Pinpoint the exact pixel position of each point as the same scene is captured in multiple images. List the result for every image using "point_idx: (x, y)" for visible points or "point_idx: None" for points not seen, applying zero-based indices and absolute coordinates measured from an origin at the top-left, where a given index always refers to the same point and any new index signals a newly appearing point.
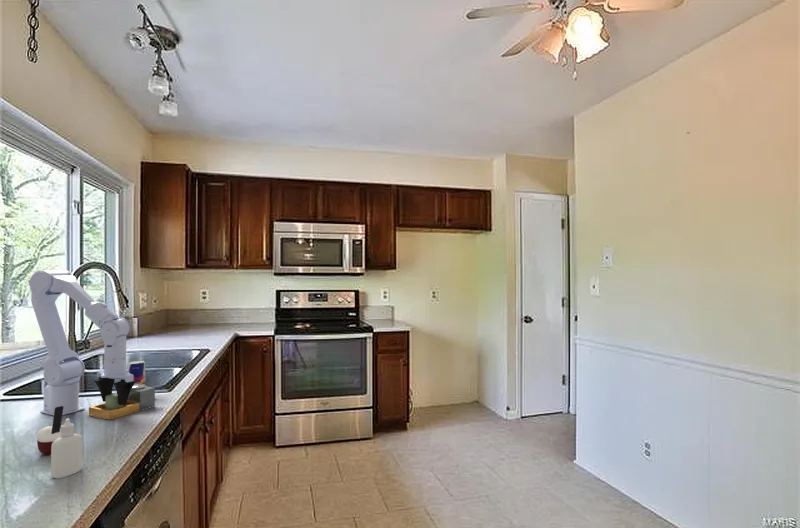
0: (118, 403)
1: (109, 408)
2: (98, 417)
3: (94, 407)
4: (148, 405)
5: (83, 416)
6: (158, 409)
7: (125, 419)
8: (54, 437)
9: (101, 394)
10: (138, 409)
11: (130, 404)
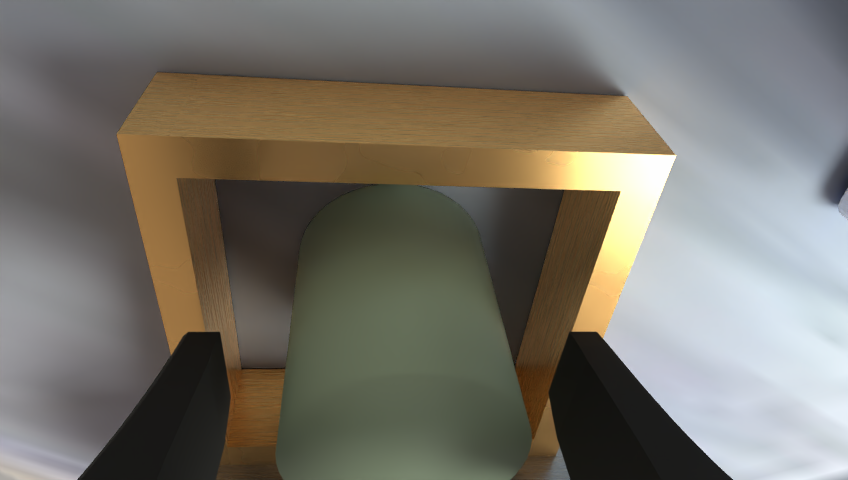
0: (212, 346)
1: (353, 249)
2: (408, 86)
3: (566, 175)
4: None
5: (665, 38)
6: None
7: (6, 181)
8: None
9: (646, 409)
10: None
11: None
